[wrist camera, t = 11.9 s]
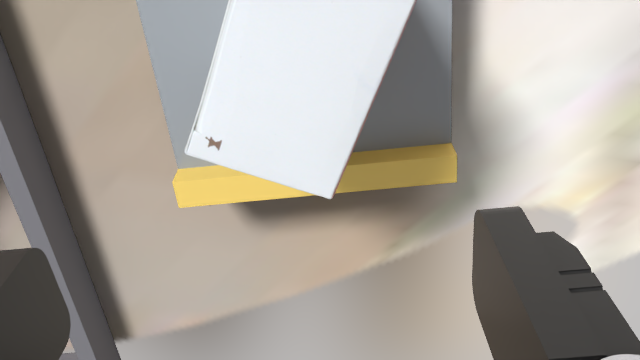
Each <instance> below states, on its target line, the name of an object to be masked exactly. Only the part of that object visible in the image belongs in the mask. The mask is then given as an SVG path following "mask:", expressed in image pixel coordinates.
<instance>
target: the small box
mask: <svg viewBox="0 0 640 360" xmlns="http://www.w3.org/2000/svg"><path fill="white" fill-rule="evenodd" d="M416 1H417V0H229V1H228V5H227V8H226V12H225V16H224V19H223V23H222V27H221V30H220V34H219V38H218V41H217V45H216V48H215V52H214V56H213V59H212V63H211V66H210V70H209V73H208V77H207V80H206V84H205V88H204V91H203V95H202V98H201V102H200V105H199V108H198V111H197V114H196V117H195V121H194V124H193V127H192V130H191V133H190V136H189V139H188V142H187V144H186V147H185V151H184V152H185V154H186V155H189V156H192V157H195V158H199V159H202V160H205V161H208V162H211V163H214V164H217V165H220V166H224V167H227V168H230V169H233V170H236V171H240V172H243V173H246V174H249V175H252V176H256V177H259V178H262V179H265V180H269V181H272V182H275V183H278V184H281V185H285V186H288V187H291V188H294V189H297V190H301V191H304V192H307V193H311V194H314V195H318V196H321V197H324V198H327V199H332V198H333V197H334V195H335V192H336V190H337V188H338V185H339V183H340V181H341V178H342V176H343V173H344V171H345V169H346V166H347V164H348V162H349V159H350V157H351V154H352V152H353V150H354V147H355V145H356V143H357V140H358V138H359V136H360V133H361V131H362V129H363V126H364V124H365V122H366V119H367V117H368V114H369V112H370V109H371V107H372V105H373V102H374V100H375V98H376V96H377V93H378V91H379V88H380V86H381V84H382V81H383V79H384V77H385V74H386V72H387V69H388V67H389V65H390V62H391V60H392V58H393V55H394V53H395V51H396V48H397V46H398V44H399V41H400V39H401V37H402V34H403V32H404V30H405V27H406V25H407V22H408V20H409V17H410V15H411V13H412V10H413V8H414V6H415V3H416Z"/></svg>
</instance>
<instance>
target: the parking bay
mask: <svg viewBox="0 0 640 360" xmlns="http://www.w3.org/2000/svg"><path fill="white" fill-rule="evenodd" d="M0 173H1V175H2V178H3V180H4V183H5V185H6V187H7V190H8V192H9V194H10V197H11V199H12V202H13V204H14V206H15V209H16V211H17V214H18V216H19V218H20V221H21V223H22V226H23V228H24V230H25V233H26V235H27V237H28V240H29V242H30V245H31V247H32V248H39V249H41V250H42V251H43V252H44V253H45V255H46V257H47V259H48V261H49V264H50V266H51V269H52V271H53V273H54V276H55V278H56V281H57V283H58V286H59V288H60V291H61V293H62V295H63V298H64V300H65V303H66V305H67V308H68V311H69V314H70V323H71V327H70V335H69V338H70V340H71V342H72V345H73V347H74V350H75V352H76V353H64V354H61V356H60V358H59V360H121V358H120V356H119V353H118V350H117V348H116V345H115V342H114V339H113V337H112V334H111V331H110V329H109V326H108V323H107V321H106V318H105V315H104V312H103V310H102V307H101V304H100V302H99V299H98V296H97V294H96V291H95V288H94V285H93V283H92V280H91V277H90V275H89V272H88V269H87V267H86V264H85V261H84V259H83V256H82V253H81V250H80V248H79V245H78V242H77V240H76V237H75V234H74V232H73V229H72V226H71V223H70V221H69V218H68V215H67V213H66V210H65V207H64V205H63V202H62V199H61V196H60V194H59V191H58V188H57V186H56V183H55V180H54V178H53V175H52V172H51V169H50V167H49V164H48V161H47V159H46V156H45V153H44V151H43V148H42V145H41V143H40V140H39V137H38V134H37V132H36V129H35V126H34V124H33V121H32V118H31V116H30V113H29V110H28V107H27V105H26V102H25V99H24V97H23V94H22V91H21V89H20V86H19V83H18V80H17V78H16V75H15V72H14V70H13V67H12V64H11V62H10V59H9V56H8V53H7V51H6V48H5V45H4V43H3V40H2V37H1V35H0Z"/></svg>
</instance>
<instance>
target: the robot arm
mask: <svg viewBox="0 0 640 360" xmlns="http://www.w3.org/2000/svg"><path fill="white" fill-rule="evenodd" d="M472 285H473V294H474V301H475V305H476V310H477V313H478V316H479V319H480V322H481V324H482V327H483V330H484V333H485V336H486V339H487V341H488V344H489V347H490V350H491V353H492V356H493V358H494V360H640V341H639V340H638V338H637V337H636V335H635V334H634V332H633V331H632V329H631V328H630V327H629V325H628V323H627V322H626V320H625V319H624V317H623V316H622V314H621V313H620V311H619V310H618V308H617V307H616V305H615V304H614V302H613V301H612V299H611V298H610V296H609V295H608V293H607V292H606V291H605V290H603V289H602V285H601V283H600V282H599V280H598V279H597V277H596V275H595V274H594V273H591V268H590V266H589V265H588V263H587V262H586V260H585V259H584V257H583V256H582V254H581V253H580V252H579V250H578V249H577V248H576V247H575V246H574V245H572V244H571V243H569V242H568V241H566V240H565V239H563V238H562V237H561V236H559V235H558V234H556V233H555V232H542V233H536V232H535V231H534V229H533V227H532V225H531V224H530V222H529V220H528V219H527V217H526V215H525V213H524V212H523V210H522V209H521V208H520V207H518V206H517V207H506V208H494V209H483V210H477V211H476V213H475V217H474V237H473V270H472ZM70 327H71V323H70V314H69V311H68V308H67V305H66V303H65V300H64V298H63V295H62V293H61V291H60V288H59V286H58V283H57V281H56V278H55V276H54V273H53V271H52V269H51V266H50V264H49V261H48V259H47V257H46V255H45V253H44V252H43V251H42V250H41V249H39V248H25V249H14V250H3V251H0V360H59V358H60V356H61V354H62V352H63V351H64V349H65V347H66V345H67V342H68V339H69V335H70Z"/></svg>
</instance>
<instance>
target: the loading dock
mask: <svg viewBox="0 0 640 360" xmlns="http://www.w3.org/2000/svg"><path fill="white" fill-rule="evenodd" d="M228 1H229V0H136V2H137V6H138V10H139V14H140V18H141V22H142V26H143V30H144V34H145V38H146V42H147V46H148V50H149V54H150V58H151V62H152V66H153V70H154V74H155V78H156V82H157V86H158V90H159V94H160V98H161V102H162V106H163V110H164V114H165V118H166V122H167V126H168V130H169V134H170V138H171V142H172V146H173V150H174V154H175V158H176V162H177V166H178V171H177V173H176V175H175V177H174V180H173V182H172V183H173V187H174V191H175V194H176V198H177V202H178V206H179V208H183V207H194V206H204V205H215V204H226V203H237V202H248V201H259V200H269V199H280V198H291V197H302V196H313V195H314V194H311V193H307V192H304V191H301V190H297V189H294V188H291V187H288V186H285V185H281V184H278V183H275V182H272V181H269V180H265V179H262V178H259V177H256V176H252V175H249V174H246V173H243V172H240V171H236V170H233V169H230V168H227V167H224V166H220V165H217V164H214V163H211V162H208V161H205V160H202V159H199V158H195V157H192V156H189V155H186V154H185V152H184V151H185V147H186V144H187V142H188V139H189V136H190V133H191V130H192V127H193V124H194V121H195V117H196V114H197V111H198V108H199V105H200V102H201V98H202V95H203V91H204V88H205V84H206V80H207V77H208V73H209V70H210V66H211V63H212V59H213V56H214V52H215V48H216V45H217V41H218V38H219V34H220V30H221V27H222V23H223V19H224V16H225V12H226V8H227V5H228ZM451 105H452V0H417V1H416V3H415V6H414V8H413V10H412V13H411V15H410V17H409V20H408V22H407V25H406V27H405V30H404V32H403V34H402V37H401V39H400V41H399V44H398V46H397V48H396V51H395V53H394V55H393V58H392V60H391V62H390V65H389V67H388V69H387V72H386V74H385V77H384V79H383V81H382V84H381V86H380V88H379V91H378V93H377V96H376V98H375V100H374V102H373V105H372V107H371V109H370V112H369V114H368V117H367V119H366V122H365V124H364V126H363V129H362V131H361V133H360V136H359V138H358V140H357V143H356V145H355V147H354V150H353V152H352V154H351V157H350V159H349V162H348V164H347V166H346V169H345V171H344V173H343V176H342V178H341V181H340V183H339V185H338V188H337V190H336V192H335V193H345V192H356V191H367V190H378V189H389V188H399V187H410V186H421V185H432V184H443V183H454V182H457V154H456V152H455V150H454V148H453V145H452V143H451Z"/></svg>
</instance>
